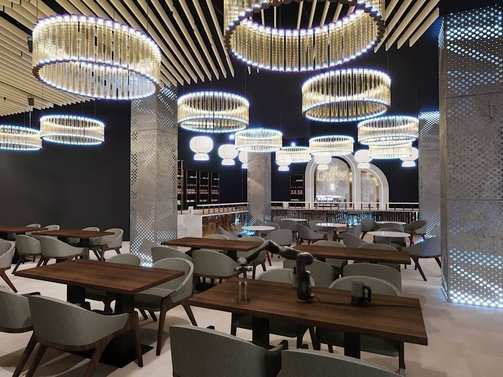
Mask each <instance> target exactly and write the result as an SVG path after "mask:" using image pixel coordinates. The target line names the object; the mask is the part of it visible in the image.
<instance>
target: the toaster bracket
mask: <svg viewBox="0 0 503 377" xmlns="http://www.w3.org/2000/svg"><path fill="white" fill-rule="evenodd" d="M241 283H242V282H241V281H239V283H238V287H239V288H238V298H239V301H241V300H242V296H241V295H242V287H241ZM244 283H245V287H244V300H245V301H247V292H248V291H247V287H248V283H247V281H244Z"/></svg>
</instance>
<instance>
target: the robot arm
mask: <svg viewBox="0 0 503 377" xmlns="http://www.w3.org/2000/svg"><path fill="white" fill-rule="evenodd" d="M264 251H266V252H267V253H269V254H271V255H275V256H279V257H280V258H282V259H285V260H287V261H295V267H296V272H297V287H296V301H298V302H300V303H310V302H311V301H312V300H314V298H315V299H317V300H318V302H320V303H325V304H333V305H334V304H336V305H345V306H346V305H347V306H348V305H349V306H355V305H354V304H351V303H345V302H334V301H322V300H320V299H319V297H317V296H315V295H314V293H312V286H311V272H310V271H308V270H306V267H308V266H309V267H310V266H311V265H313V263H314V257H313V255H312V254H311V253H309V252H305V251H300V250H297V249H294V248H292V247H289V246H285V245H283V246H280V245H279V244H277V243H276V242H274V241H272V240H271V239H267V240H265V241H263V242H262V243H261V244H260V245H259V246H257V248H256V249H255V250H253V251H252V252H251V253H249V254H247V255H246V256H245V257H244V256H240V257H238V258H237V260H236V263H237V267H236V266H234V267H233V272H234V273H235V272H236V273H237V274H238V273H242V274H244V273H249V274H250V273H252V272H253V267H252V266H250V265H251V264H252V263H253V262H255V261H257V260H258V259H259V257H260V256H261V253H262V252H264ZM363 306H388V307H401V308H402V307H405V308H418V309H421V310H422V311H424V310H425V309H424V308H423V307H422V306H417V305H413V306H411V305H402V304H386V303H385V304H384V303H383V304H382V303H365V304H364V305H363Z"/></svg>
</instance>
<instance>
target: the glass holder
mask: <svg viewBox="0 0 503 377" xmlns="http://www.w3.org/2000/svg"><path fill="white" fill-rule="evenodd" d="M292 268H293V269H290V270H289V271H288V273H290V272H291V273H292V279H291V275H288V278H289V280H290V281H291V282H292V287H294V288H297V272H296V266H293V267H292Z"/></svg>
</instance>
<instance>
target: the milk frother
mask: <svg viewBox="0 0 503 377" xmlns="http://www.w3.org/2000/svg"><path fill="white" fill-rule="evenodd" d="M350 286H351V287H350V294H351V295H350V296H351V297H350V304H354V305H353V306H357V307H362V306H365V305H364V304H366V303H367V304H371V302H372V300H373V297H372V296H373V295H372V288H371V287H370V286H369V285H366V283H365V281H362V280H361V281H360V280H351V281H350ZM366 291H367V296H366Z"/></svg>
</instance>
